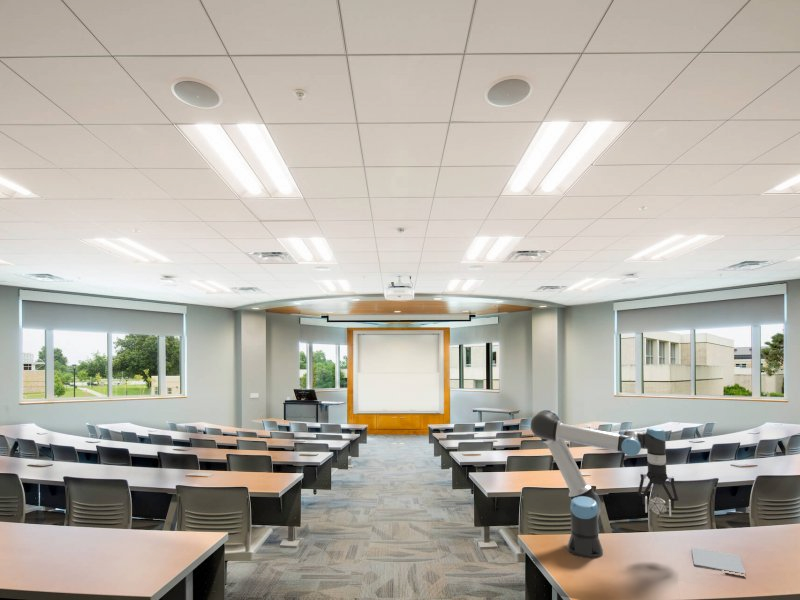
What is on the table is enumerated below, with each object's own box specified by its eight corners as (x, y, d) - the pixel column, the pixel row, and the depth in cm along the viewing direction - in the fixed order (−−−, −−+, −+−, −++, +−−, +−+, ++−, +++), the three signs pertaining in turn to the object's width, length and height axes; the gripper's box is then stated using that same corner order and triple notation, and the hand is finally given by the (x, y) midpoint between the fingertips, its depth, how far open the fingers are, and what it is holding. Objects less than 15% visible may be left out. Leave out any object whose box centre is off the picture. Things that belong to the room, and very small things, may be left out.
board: (694, 567, 211) (694, 564, 211) (691, 550, 227) (691, 547, 227) (745, 577, 203) (745, 573, 203) (739, 558, 219) (739, 555, 219)
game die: (671, 521, 220) (671, 498, 221) (651, 519, 222) (650, 497, 223) (665, 513, 229) (664, 491, 230) (645, 512, 231) (644, 490, 231)
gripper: (630, 462, 229) (631, 512, 227) (684, 468, 219) (686, 520, 217) (631, 458, 235) (632, 506, 234) (683, 463, 225) (685, 514, 224)
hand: (658, 513), depth 226 cm, fingers closed on game die, 9 cm apart
